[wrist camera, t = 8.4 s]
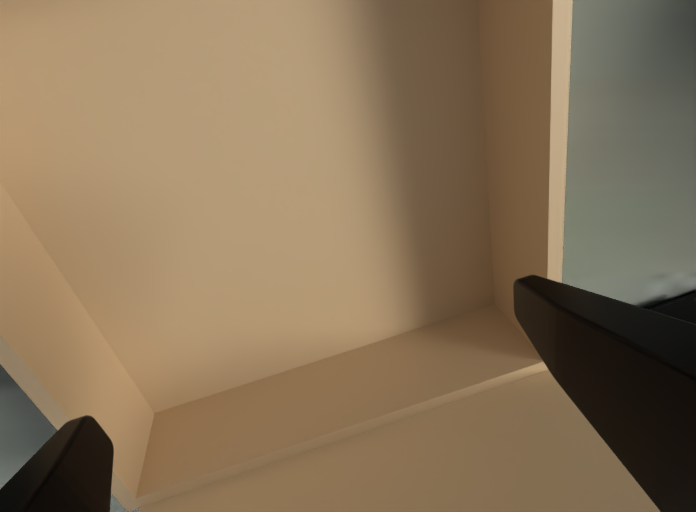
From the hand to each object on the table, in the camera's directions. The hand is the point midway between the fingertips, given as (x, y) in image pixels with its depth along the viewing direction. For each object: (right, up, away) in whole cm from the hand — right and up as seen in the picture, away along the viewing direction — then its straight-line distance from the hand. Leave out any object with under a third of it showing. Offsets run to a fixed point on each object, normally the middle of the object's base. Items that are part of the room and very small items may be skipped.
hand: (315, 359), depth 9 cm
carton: (-2, +5, +9) cm, 10 cm away
